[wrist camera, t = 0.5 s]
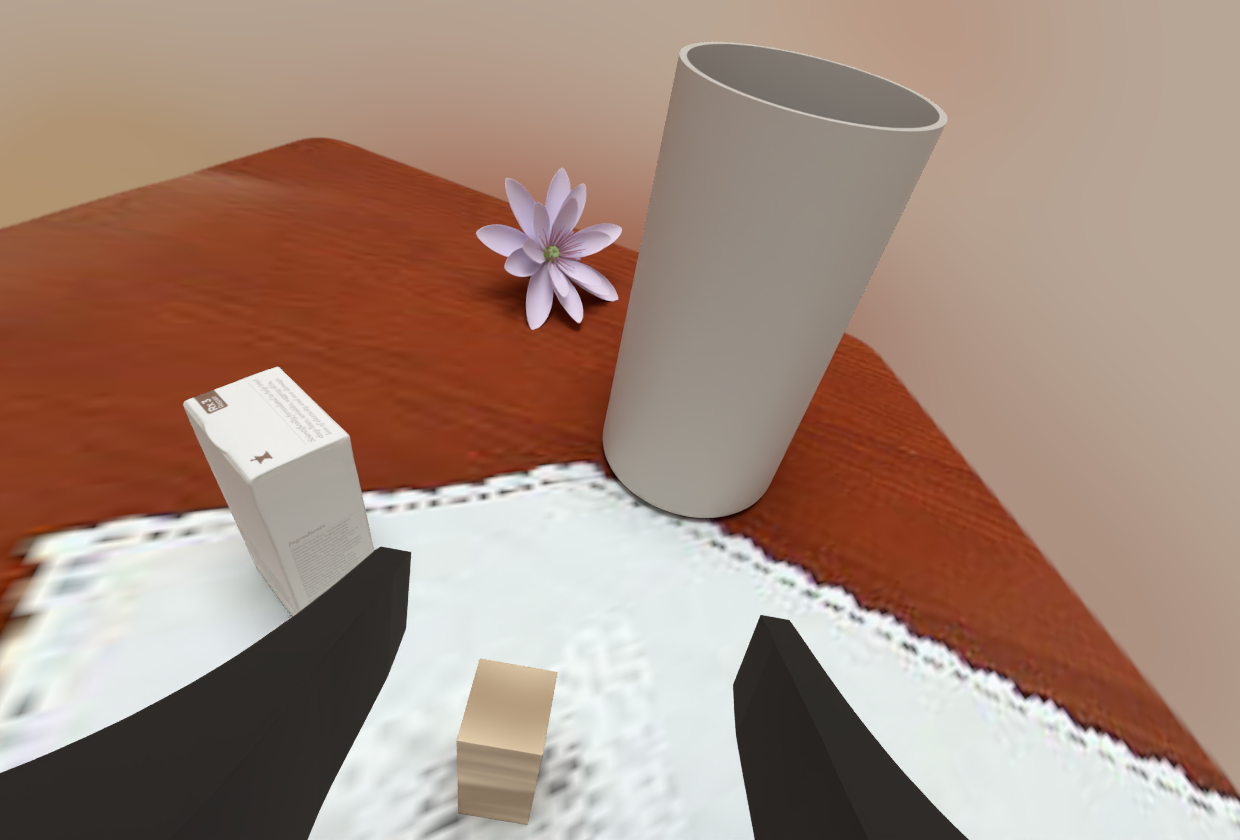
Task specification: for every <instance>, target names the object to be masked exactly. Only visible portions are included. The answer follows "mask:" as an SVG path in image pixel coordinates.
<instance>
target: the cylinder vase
mask: <svg viewBox="0 0 1240 840" xmlns="http://www.w3.org/2000/svg"><path fill="white" fill-rule="evenodd" d="M946 123H947V116H946V114H945V112H944V111H943V110H942V109H941V108H940V107H939V106H937V105H936V104H935V103H934V102H932V101H931V100H929V99H927V98H925V97H924V96H922V95H920V94H919V93H917V92H915V91H913V90H911V89H909V88H907V87H904V86H902V85H900V84H898V83H895V82H893V81H890V80H888V79H885V78H883V77H880V76H877V75H874V74H872V73H868V72H866V71H863V70H860V69H857V68H854V67H851V66H847V65H844V64H840V63H837V62H834V61H830V60H826V59H822V58H818V57H814V56H810V55H806V54H802V53H797V52H792V51H787V50H782V49H777V48H771V47H765V46H758V45H751V44H742V43H729V42H705V43H704V42H703V43H696V44H691V45H688V46H685V47H684V48H682V49H681V51H680V53H679V58H678V63H677V68H676V73H675V78H674V83H673V88H672V93H671V98H670V103H669V108H668V113H667V118H666V122H665V127H664V133H663V138H662V142H661V147H660V152H659V157H658V162H657V167H656V172H655V177H654V182H653V187H652V192H651V197H650V202H649V206H648V212H647V216H646V221H645V227H644V232H643V236H642V241H641V246H640V251H639V256H638V261H637V266H636V271H635V276H634V281H633V286H632V290H631V295H630V300H629V305H628V310H627V315H626V320H625V325H624V330H623V335H622V340H621V345H620V350H619V355H618V360H617V365H616V370H615V374H614V379H613V384H612V389H611V394H610V399H609V404H608V409H607V414H606V419H605V424H604V429H603V448H604V452H605V456H606V458H607V461H608V463H609V465H610V467H611V469H612V470H613V472H614V473H615V475H616V476H617V477H618V479H619V480H620V481H621V482H622V483H623V484H624V485H625V486H626V487H627V488H628V489H629V490H630V491H632V492H633V493H634V494H635V495H637V496H638V497H640V498H641V499H643V500H644V501H646V502H648V503H649V504H651V505H653V506H655V507H658V508H660V509H662V510H665V511H668V512H671V513H674V514H678V515H683V516H688V517H696V518H715V517H723V516H728V515H732V514H735V513H738V512H740V511H742V510H744V509H746V508H748V507H750V506H751V505H753V504H754V503H755V502H757V501H758V500H759V499H760V498H761V497H762V496H763V495H764V493H765V492H766V491H767V489H768V487H769V485H770V483H771V481H772V479H773V477H774V475H775V473H776V471H777V469H778V467H779V465H780V463H781V461H782V459H783V457H784V455H785V453H786V451H787V448H788V446H789V444H790V442H791V440H792V438H793V436H794V434H795V432H796V430H797V428H798V426H799V424H800V422H801V420H802V418H803V416H804V414H805V412H806V410H807V407H808V405H809V403H810V401H811V399H812V397H813V395H814V393H815V391H816V389H817V387H818V385H819V383H820V381H821V379H822V377H823V375H824V373H825V371H826V369H827V367H828V364H829V362H830V360H831V358H832V356H833V354H834V352H835V350H836V348H837V346H838V344H839V342H840V340H841V338H842V336H843V334H844V332H845V329H846V328H847V326H848V323H849V321H850V319H851V317H852V315H853V313H854V311H855V309H856V307H857V305H858V303H859V301H860V299H861V297H862V295H863V293H864V291H865V289H866V287H867V285H868V283H869V280H870V278H871V276H872V274H873V272H874V270H875V268H876V266H877V264H878V262H879V260H880V258H881V256H882V254H883V252H884V250H885V248H886V246H887V244H888V241H889V239H890V237H891V235H892V233H893V231H894V229H895V227H896V225H897V223H898V221H899V219H900V217H901V215H902V213H903V211H904V209H905V207H906V205H907V202H908V201H909V199H910V196H911V194H912V192H913V190H914V188H915V186H916V184H917V182H918V180H919V178H920V176H921V174H922V172H923V170H924V168H925V166H926V164H927V162H928V160H929V158H930V155H931V153H932V151H933V149H934V147H935V145H936V143H937V141H938V139H939V137H940V135H941V133H942V131H943V129H944V127H945V125H946Z"/></svg>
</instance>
